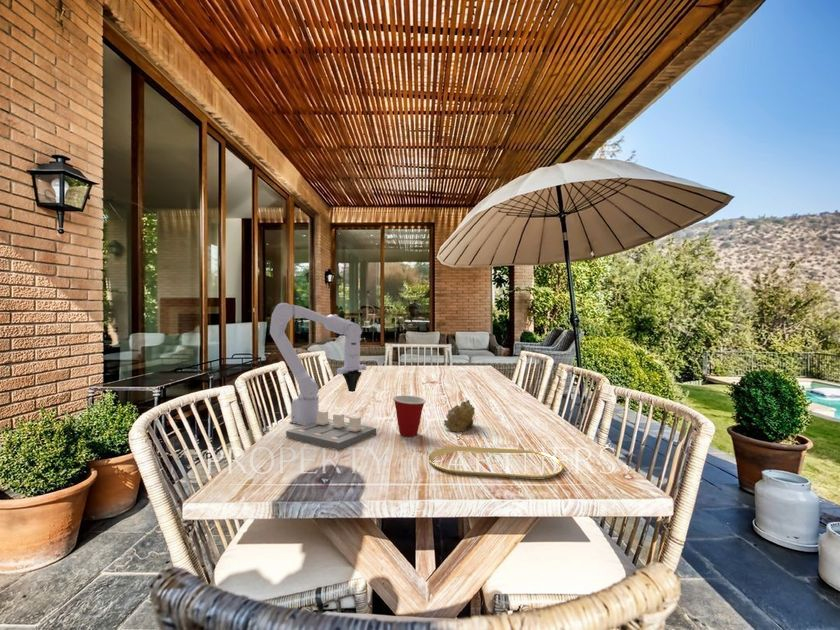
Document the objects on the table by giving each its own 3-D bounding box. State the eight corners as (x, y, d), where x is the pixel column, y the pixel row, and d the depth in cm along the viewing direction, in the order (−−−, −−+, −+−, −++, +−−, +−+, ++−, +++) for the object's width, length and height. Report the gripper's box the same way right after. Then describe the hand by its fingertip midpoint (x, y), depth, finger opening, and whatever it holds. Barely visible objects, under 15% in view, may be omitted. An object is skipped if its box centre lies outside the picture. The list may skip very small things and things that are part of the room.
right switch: (347, 430, 131) (347, 417, 130) (354, 427, 133) (354, 415, 133) (355, 431, 129) (355, 419, 129) (362, 429, 132) (362, 416, 132)
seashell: (473, 425, 151) (472, 397, 152) (477, 433, 136) (477, 402, 137) (443, 425, 151) (442, 398, 152) (444, 433, 137) (443, 402, 138)
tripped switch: (331, 426, 134) (331, 414, 134) (338, 424, 137) (338, 412, 137) (338, 428, 133) (338, 415, 132) (345, 426, 135) (345, 413, 135)
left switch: (315, 423, 138) (315, 411, 138) (322, 421, 140) (322, 409, 140) (322, 425, 136) (322, 413, 136) (329, 422, 139) (329, 411, 139)
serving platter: (569, 485, 97) (570, 478, 97) (424, 474, 103) (424, 468, 103) (555, 457, 116) (555, 451, 116) (432, 449, 121) (432, 444, 121)
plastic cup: (427, 439, 130) (427, 401, 130) (393, 439, 129) (393, 401, 129) (424, 429, 141) (424, 394, 140) (392, 429, 140) (392, 394, 140)
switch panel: (286, 437, 130) (286, 430, 130) (326, 424, 145) (326, 418, 145) (338, 449, 119) (338, 442, 119) (376, 434, 134) (376, 427, 134)
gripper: (347, 357, 144) (347, 395, 144) (372, 353, 156) (372, 389, 157) (332, 355, 148) (332, 393, 148) (358, 352, 160) (357, 387, 160)
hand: (351, 391), depth 152 cm, fingers closed
